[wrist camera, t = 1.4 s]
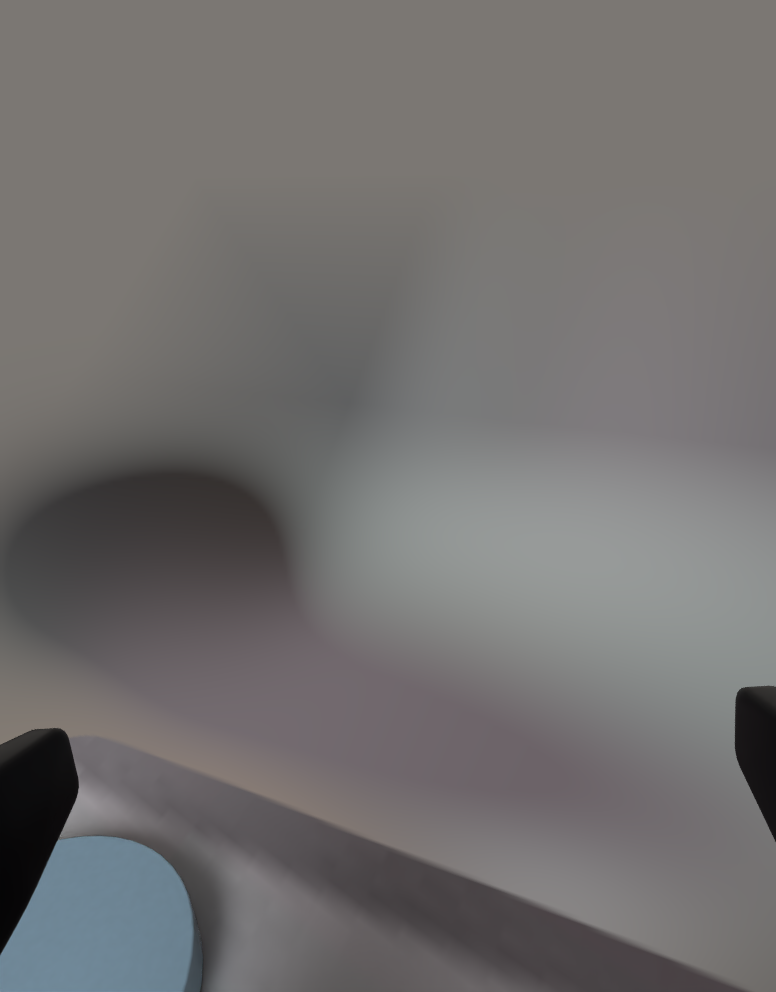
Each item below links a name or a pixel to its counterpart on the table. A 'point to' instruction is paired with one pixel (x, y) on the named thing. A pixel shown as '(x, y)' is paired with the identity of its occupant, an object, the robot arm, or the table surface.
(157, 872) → the plate
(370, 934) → the table surface
